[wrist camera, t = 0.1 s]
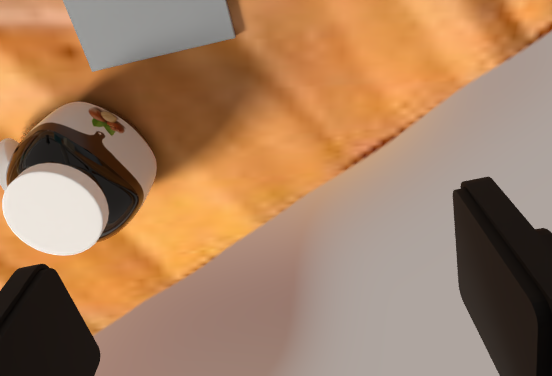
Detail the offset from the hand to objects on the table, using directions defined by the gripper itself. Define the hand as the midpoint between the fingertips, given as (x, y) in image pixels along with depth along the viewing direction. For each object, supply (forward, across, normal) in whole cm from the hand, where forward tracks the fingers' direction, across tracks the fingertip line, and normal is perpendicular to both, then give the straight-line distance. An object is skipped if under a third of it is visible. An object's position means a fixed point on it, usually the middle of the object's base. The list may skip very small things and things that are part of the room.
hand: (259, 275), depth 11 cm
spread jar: (+31, +19, +7) cm, 37 cm away
